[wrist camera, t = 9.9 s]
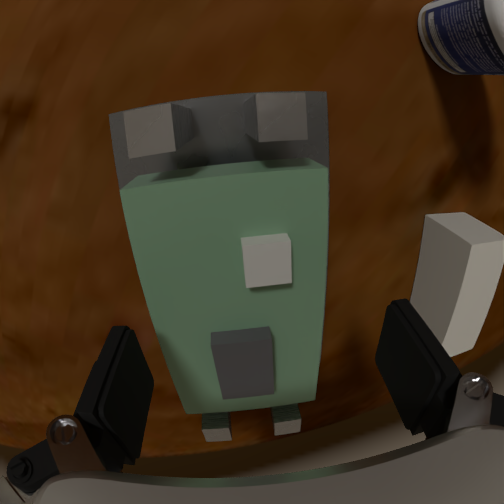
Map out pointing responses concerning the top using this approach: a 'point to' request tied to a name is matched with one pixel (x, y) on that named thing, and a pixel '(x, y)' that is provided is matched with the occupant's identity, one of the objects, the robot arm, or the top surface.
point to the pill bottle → (464, 35)
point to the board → (234, 278)
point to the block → (456, 277)
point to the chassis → (224, 161)
